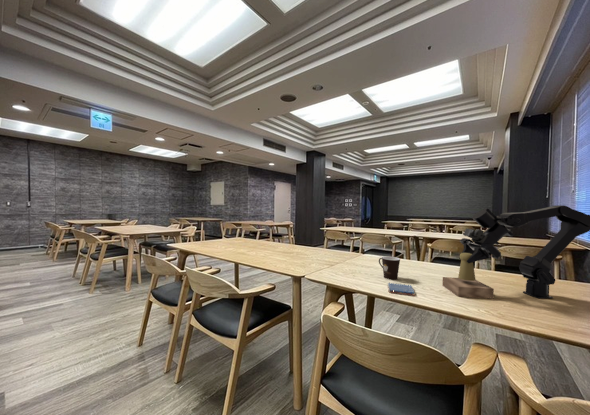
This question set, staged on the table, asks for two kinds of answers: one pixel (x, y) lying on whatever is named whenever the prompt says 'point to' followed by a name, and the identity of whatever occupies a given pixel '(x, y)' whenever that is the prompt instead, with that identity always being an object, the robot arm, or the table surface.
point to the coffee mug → (390, 267)
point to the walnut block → (468, 288)
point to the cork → (466, 268)
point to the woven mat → (401, 289)
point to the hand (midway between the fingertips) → (463, 260)
